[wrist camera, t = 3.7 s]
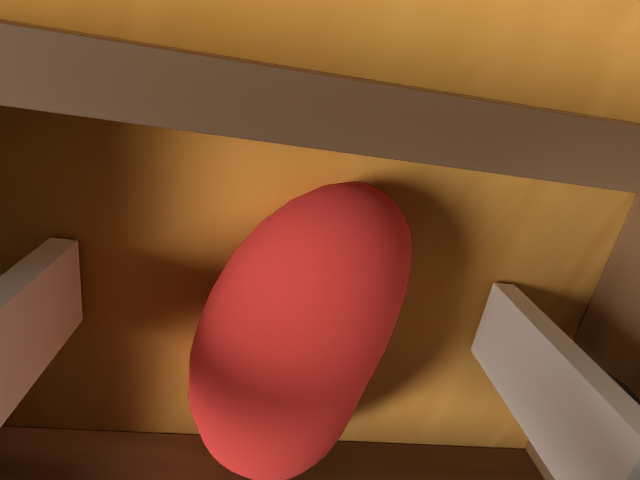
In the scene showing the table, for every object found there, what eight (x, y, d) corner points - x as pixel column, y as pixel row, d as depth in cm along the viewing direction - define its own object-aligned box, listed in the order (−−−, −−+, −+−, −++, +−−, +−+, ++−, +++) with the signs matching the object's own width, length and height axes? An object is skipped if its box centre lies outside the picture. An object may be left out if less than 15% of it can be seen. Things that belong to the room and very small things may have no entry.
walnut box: (539, 468, 18) (653, 645, 13) (-65, 445, 15) (-264, 667, 10) (695, 132, 13) (998, 185, 8) (-171, -9, 10) (-733, -96, 4)
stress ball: (150, 312, 15) (140, 516, 12) (262, 118, 10) (313, 379, 6) (277, 326, 18) (304, 495, 14) (419, 179, 13) (521, 387, 9)
